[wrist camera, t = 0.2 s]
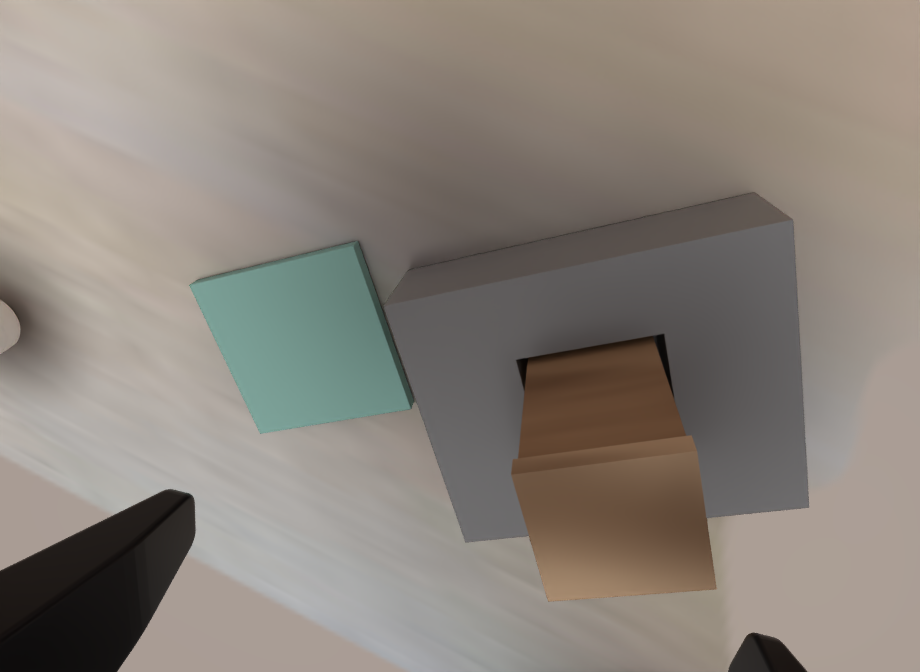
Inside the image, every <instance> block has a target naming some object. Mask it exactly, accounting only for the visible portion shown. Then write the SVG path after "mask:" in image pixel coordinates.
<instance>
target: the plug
mask: <svg viewBox="0 0 920 672" xmlns="http://www.w3.org/2000/svg"><path fill="white" fill-rule="evenodd" d="M511 476H512V480H513V483H514V487H515V490H516V493H517V497H518V500H519V504H520V507H521V510H522V514H523V517H524V521H525V524H526V528H527V531H528V534H529V538H530V541H531V545H532V548H533V551H534V555H535V558H536V562H537V565H538V568H539V572H540V575H541V579H542V582H543V585H544V589H545V592H546V596H547V599H548V602H550V601H564V600H577V599H591V598H605V597H618V596H632V595H646V594H659V593H673V592H687V591H700V590H714V589H717V588H716V581H715V574H714V567H713V560H712V553H711V546H710V539H709V532H708V525H707V518H706V511H705V503H704V496H703V489H702V482H701V475H700V468H699V461H698V454H697V449H696V446H695V444H694V441H693V438H692V435H689V436H686V433H685V430H684V427H683V424H682V421H681V418H680V415H679V413H678V410H677V407H676V404H675V401H674V398H673V395H672V392H671V389H670V386H669V383H668V380H667V377H666V374H665V371H664V368H663V365H662V362H661V359H660V356H659V353H658V350H657V347H656V344H655V341H654V338H653V336H648V337H642V338H636V339H631V340H625V341H619V342H614V343H608V344H602V345H597V346H591V347H585V348H580V349H574V350H568V351H563V352H557V353H551V354H546V355H540V356H534V357H529V358H528V362H527V372H526V382H525V393H524V403H523V413H522V423H521V433H520V443H519V453H518V459H513V461H512V470H511Z"/></svg>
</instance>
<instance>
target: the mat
mask: <svg viewBox="0 0 920 672" xmlns="http://www.w3.org/2000/svg"><path fill="white" fill-rule="evenodd" d="M189 286H190V288H191V290H192V292H193V294H194V296H195V298H196V300H197V303H198V305H199V307H200V309H201V311H202V313H203V315H204V317H205V319H206V321H207V323H208V326H209V328H210V330H211V332H212V334H213V336H214V338H215V340H216V342H217V344H218V346H219V349H220V351H221V353H222V355H223V357H224V359H225V361H226V363H227V365H228V367H229V369H230V372H231V374H232V376H233V378H234V380H235V382H236V384H237V386H238V388H239V390H240V392H241V394H242V397H243V399H244V401H245V403H246V405H247V407H248V409H249V411H250V413H251V415H252V417H253V420H254V422H255V424H256V426H257V428H258V430H259V432H260V434H261V433H268V432H274V431H280V430H286V429H292V428H298V427H304V426H311V425H317V424H323V423H329V422H335V421H341V420H347V419H354V418H360V417H366V416H372V415H378V414H384V413H390V412H397V411H403V410H409V409H411V408H412V405H413V403H414V400H413V397H412V394H411V391H410V388H409V385H408V382H407V380H406V377H405V374H404V371H403V368H402V365H401V362H400V360H399V357H398V354H397V351H396V348H395V345H394V343H393V340H392V337H391V334H390V331H389V328H388V325H387V323H386V320H385V317H384V314H383V311H382V308H381V305H380V303H379V300H378V297H377V294H376V291H375V288H374V285H373V283H372V280H371V277H370V274H369V271H368V268H367V265H366V263H365V260H364V257H363V254H362V251H361V248H360V245H359V243H358V241H356V242H352V243H347V244H343V245H339V246H335V247H331V248H327V249H323V250H319V251H315V252H310V253H306V254H302V255H298V256H294V257H290V258H286V259H282V260H278V261H273V262H269V263H265V264H261V265H257V266H253V267H249V268H245V269H240V270H236V271H232V272H228V273H224V274H220V275H216V276H212V277H208V278H203V279H199V280H197V281H195V282H193V283H192V284H190V285H189Z"/></svg>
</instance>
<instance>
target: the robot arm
mask: <svg viewBox="0 0 920 672" xmlns="http://www.w3.org/2000/svg"><path fill="white" fill-rule="evenodd" d="M195 531H196V527H195V502H194V498H193V496H192V495H191V494H189V493H185V492H181V491H177V490H173V489H168V490H164V491H162V492H160V493H158V494H156V495H154V496H152V497H150V498H148V499H145V500H143V501H141V502H139V503H137V504H135V505H133V506H131V507H129V508H127V509H125V510H123V511H121V512H119V513H117V514H115V515H113V516H111V517H109V518H107V519H105V520H103V521H101V522H99V523H97V524H95V525H93V526H91V527H88V528H86V529H85V530H83V531H80V532H78V533H76V534H74V535H72V536H70V537H68V538H66V539H64V540H62V541H60V542H58V543H56V544H54V545H52V546H50V547H48V548H46V549H44V550H42V551H40V552H37V553H35V554H34V555H32V556H29V557H27V558H25V559H23V560H21V561H19V562H17V563H15V564H13V565H11V566H9V567H7V568H5V569H3V570H1V571H0V672H117V671H118V670H119V668H120V667H121V665H122V664H123V662H124V661H125V659H126V658H127V657H128V655H129V654H130V652H131V651H132V649H133V648H134V646H135V645H136V643H137V642H138V640H139V638H140V637H141V635H142V634H143V632H144V630H145V629H146V627H147V625H148V623H149V622H150V620H151V619H152V617H153V615H154V613H155V611H156V609H157V607H158V605H159V604H160V602H161V600H162V599H163V596H164V595H165V593H166V591H167V589H168V588H169V586H170V584H171V582H172V580H173V578H174V576H175V575H176V573H177V571H178V569H179V567H180V566H181V564H182V562H183V560H184V558H185V557H186V555H187V553H188V551H189V549H190V548H191V546H192V543H193V541H194V537H195ZM728 672H807V671H806V669H805V668H804V667H803V666H802V665H801V664H800V663H799V661H798V660H797V659H796V658H795V657H794V655H793V654H792V653H791V652H790V651H789V650H788V649H787V647H786V646H785V645H784V644H783V643H782V642H781V641H780V640H778V639H776V638H774V637H770V636H766V635H761V634H758V633H751V634H748V635H747V636H746V638H745V639H744V641H743V643H742V645H741V647H740V648H739V650H738V652H737V653H736V655H735V657H734V659H733V660H732V662H731V664H730V667H729V670H728Z"/></svg>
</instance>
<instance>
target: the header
mask: <svg viewBox="0 0 920 672" xmlns="http://www.w3.org/2000/svg"><path fill="white" fill-rule="evenodd" d="M383 307H384V310H385V313H386V315H387V318H388V321H389V324H390V327H391V330H392V333H393V336H394V338H395V341H396V344H397V347H398V350H399V353H400V356H401V359H402V361H403V364H404V367H405V370H406V373H407V376H408V379H409V381H410V384H411V387H412V390H413V393H414V396H415V399H416V402H417V404H418V407H419V410H420V413H421V416H422V419H423V422H424V424H425V427H426V430H427V433H428V436H429V439H430V442H431V445H432V447H433V450H434V453H435V456H436V459H437V462H438V465H439V468H440V470H441V473H442V476H443V479H444V482H445V485H446V488H447V490H448V493H449V496H450V499H451V502H452V505H453V508H454V511H455V513H456V516H457V519H458V522H459V525H460V528H461V531H462V534H463V536H464V539H465V542H475V541H485V540H494V539H504V538H514V537H524V536H529V534H528V531H527V528H526V524H525V521H524V517H523V514H522V510H521V507H520V504H519V500H518V497H517V493H516V490H515V487H514V483H513V480H512V476H511V470H512V461H513V459H518V453H519V443H520V433H521V423H522V413H523V403H524V393H525V382H526V372H527V362H528V358H529V357H534V356H540V355H546V354H551V353H557V352H563V351H568V350H574V349H580V348H585V347H591V346H597V345H602V344H608V343H614V342H619V341H625V340H631V339H636V338H642V337H648V336H653V338H654V341H655V344H656V347H657V350H658V353H659V356H660V359H661V362H662V365H663V368H664V371H665V374H666V377H667V380H668V383H669V386H670V389H671V392H672V395H673V398H674V401H675V404H676V407H677V410H678V413H679V415H680V418H681V421H682V424H683V427H684V430H685V433H686V436H689V435H692V438H693V441H694V444H695V446H696V449H697V454H698V461H699V468H700V475H701V482H702V489H703V496H704V503H705V511H706V518H712V517H721V516H731V515H741V514H751V513H760V512H771V511H781V510H790V509H800V508H809V497H808V479H807V461H806V443H805V425H804V407H803V389H802V371H801V353H800V335H799V317H798V299H797V281H796V263H795V245H794V227H793V219H792V218H790V217H789V216H787V215H786V214H785V213H783V212H782V211H780V210H779V209H777V208H776V207H775V206H773V205H772V204H770V203H769V202H768V201H766V200H765V199H763V198H762V197H760V196H759V195H758V194H756V193H755V192H754V193H750V194H745V195H741V196H736V197H732V198H727V199H723V200H718V201H714V202H710V203H705V204H701V205H696V206H692V207H687V208H683V209H678V210H674V211H669V212H665V213H661V214H656V215H652V216H647V217H643V218H638V219H634V220H629V221H625V222H620V223H616V224H612V225H607V226H603V227H598V228H594V229H589V230H585V231H580V232H576V233H572V234H567V235H563V236H558V237H554V238H549V239H545V240H540V241H536V242H531V243H527V244H523V245H518V246H514V247H509V248H505V249H500V250H496V251H491V252H487V253H482V254H478V255H474V256H469V257H465V258H460V259H456V260H451V261H447V262H442V263H438V264H434V265H429V266H425V267H420V268H416V269H411V270H408V271H407V272H406V274H405V275H404V277H403V278H402V280H401V281H400V283H399V284H398V285H397V287H396V288H395V290H394V291H393V293H392V294H391V296H390V297H389V298H388V300H387V301H386V303H385V304H384V306H383Z"/></svg>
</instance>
